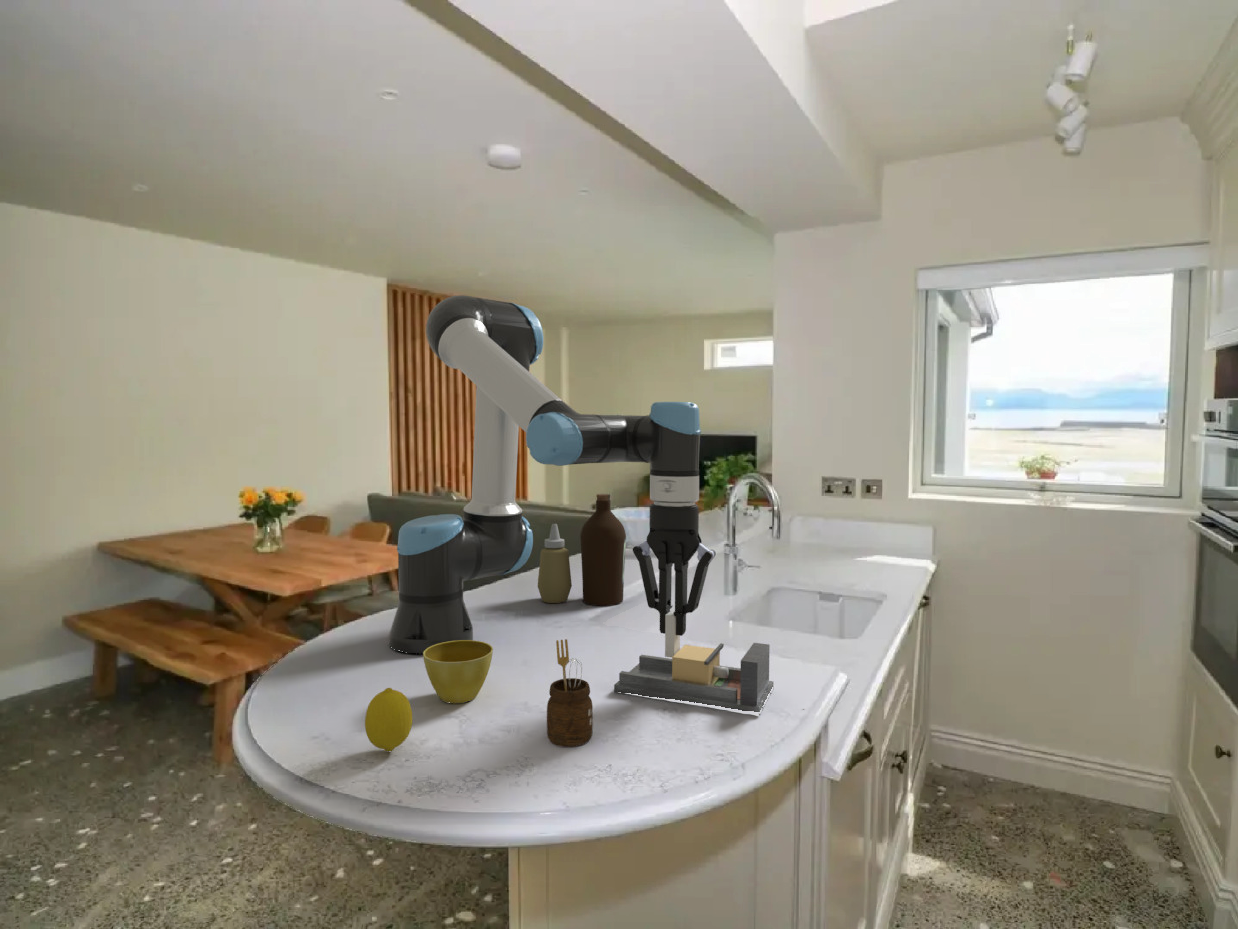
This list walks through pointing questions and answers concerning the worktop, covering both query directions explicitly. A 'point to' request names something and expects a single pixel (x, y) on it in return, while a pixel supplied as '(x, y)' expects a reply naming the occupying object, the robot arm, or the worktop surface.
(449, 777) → the worktop surface
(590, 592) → the olive oil
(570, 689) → the utensil holder
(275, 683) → the worktop surface
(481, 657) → the yellow bowl
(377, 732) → the lemon
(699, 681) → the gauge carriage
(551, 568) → the squeeze bottle
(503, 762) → the worktop surface
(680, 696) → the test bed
